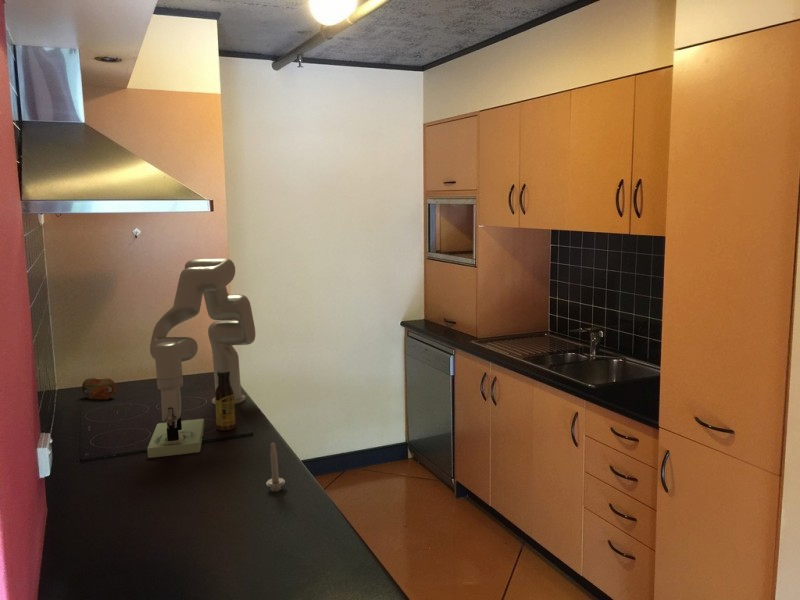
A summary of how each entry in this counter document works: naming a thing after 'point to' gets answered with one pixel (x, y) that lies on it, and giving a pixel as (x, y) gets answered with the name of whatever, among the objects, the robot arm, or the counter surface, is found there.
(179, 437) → the ball
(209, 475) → the counter surface
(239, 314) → the robot arm
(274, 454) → the screw
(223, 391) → the sauce bottle
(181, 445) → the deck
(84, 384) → the tin
